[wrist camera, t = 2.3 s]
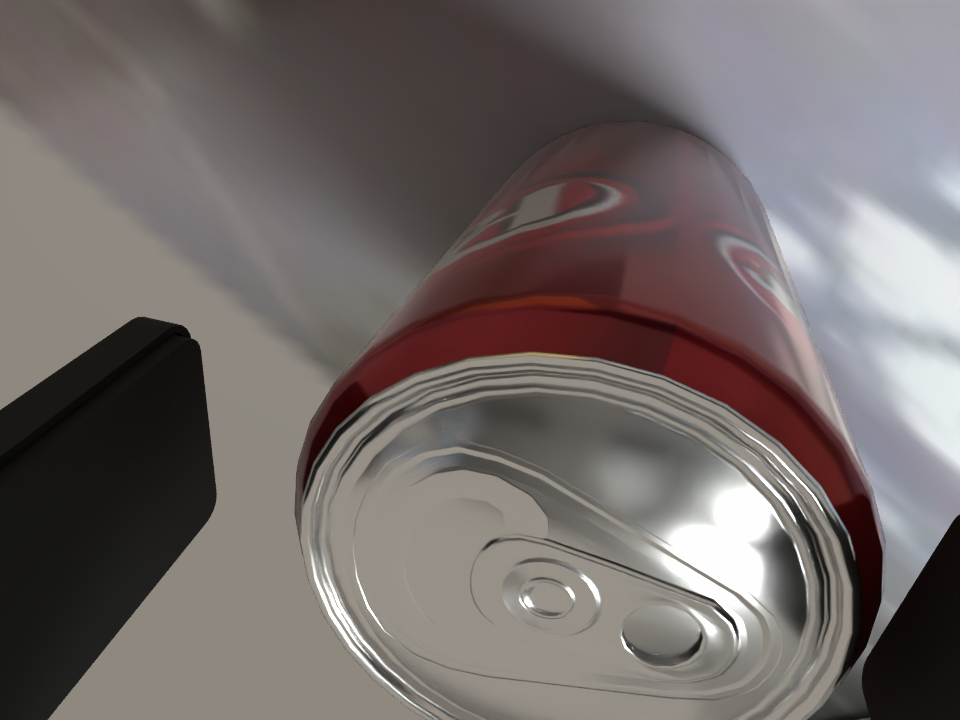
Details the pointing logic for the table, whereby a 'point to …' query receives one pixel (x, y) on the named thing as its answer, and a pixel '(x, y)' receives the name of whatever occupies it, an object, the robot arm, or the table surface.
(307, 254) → the table surface
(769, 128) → the table surface
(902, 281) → the table surface
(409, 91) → the table surface
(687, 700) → the soda can
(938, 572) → the robot arm
